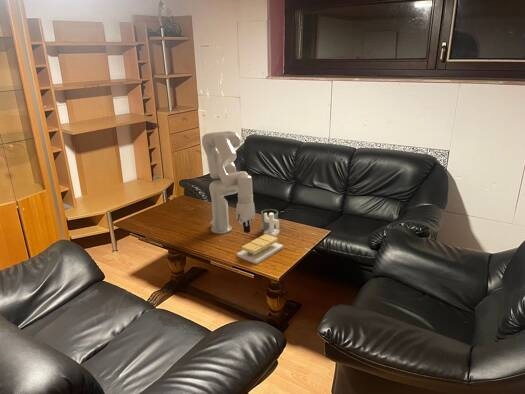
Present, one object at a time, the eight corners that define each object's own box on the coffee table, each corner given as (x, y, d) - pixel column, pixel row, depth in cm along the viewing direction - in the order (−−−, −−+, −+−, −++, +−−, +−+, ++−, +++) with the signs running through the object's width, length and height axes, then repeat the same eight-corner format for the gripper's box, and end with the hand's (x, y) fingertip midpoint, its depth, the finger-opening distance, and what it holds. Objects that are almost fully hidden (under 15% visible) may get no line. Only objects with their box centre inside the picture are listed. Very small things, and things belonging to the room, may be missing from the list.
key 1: (258, 240, 218) (258, 237, 217) (265, 236, 222) (265, 233, 221) (271, 244, 212) (271, 241, 211) (278, 240, 216) (278, 237, 216)
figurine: (276, 240, 226) (275, 216, 221) (261, 237, 230) (261, 214, 225) (281, 236, 232) (281, 212, 227) (267, 233, 236) (267, 210, 231)
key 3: (241, 249, 208) (241, 246, 207) (249, 245, 212) (249, 242, 211) (254, 254, 202) (254, 251, 201) (262, 250, 206) (261, 246, 206)
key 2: (250, 244, 213) (250, 241, 212) (257, 241, 217) (257, 237, 216) (263, 249, 207) (263, 246, 206) (270, 245, 211) (270, 242, 211)
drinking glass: (276, 234, 235) (276, 215, 231) (260, 232, 237) (259, 214, 232) (279, 227, 244) (279, 209, 240) (263, 226, 246) (263, 208, 242)
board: (236, 256, 209) (236, 249, 208) (264, 241, 226) (264, 235, 225) (256, 264, 201) (256, 257, 200) (283, 247, 217) (283, 241, 216)
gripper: (249, 194, 207) (251, 226, 213) (229, 201, 196) (231, 235, 202) (260, 196, 203) (261, 229, 208) (240, 204, 192) (242, 238, 198)
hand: (247, 232), depth 205 cm, fingers closed
